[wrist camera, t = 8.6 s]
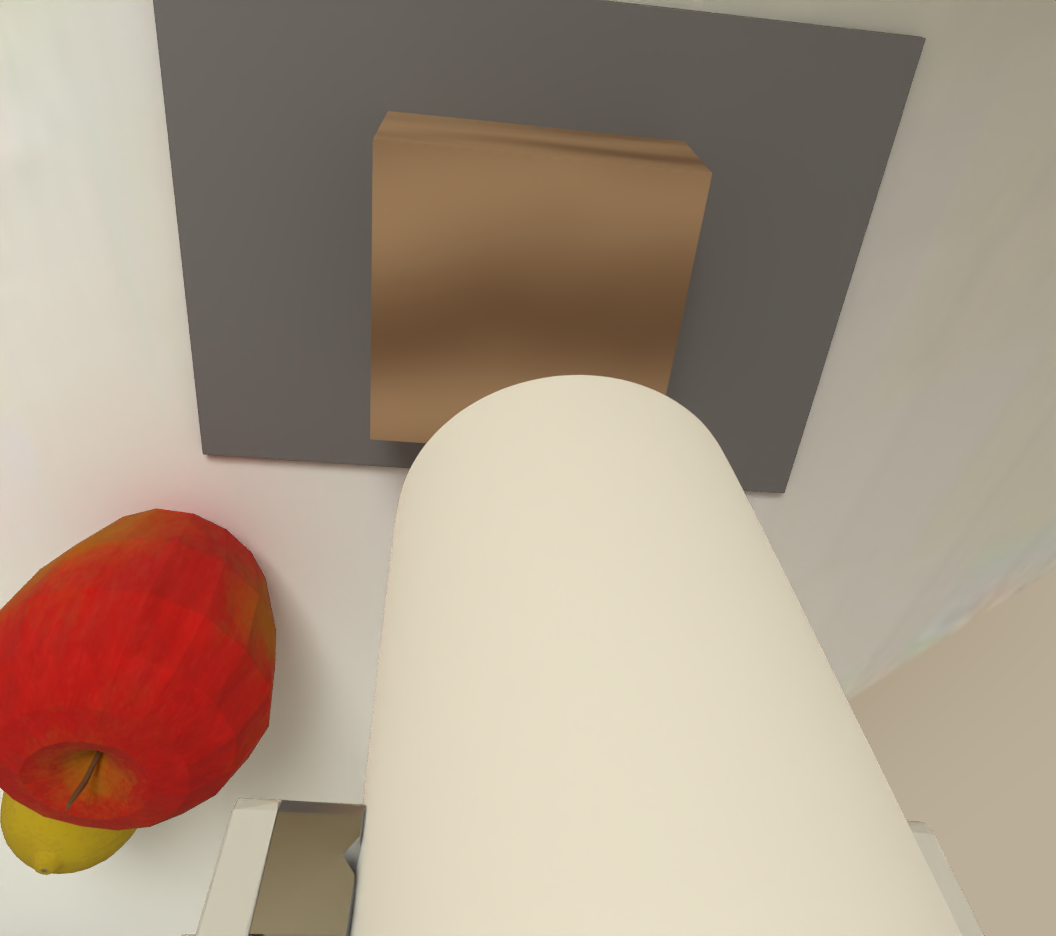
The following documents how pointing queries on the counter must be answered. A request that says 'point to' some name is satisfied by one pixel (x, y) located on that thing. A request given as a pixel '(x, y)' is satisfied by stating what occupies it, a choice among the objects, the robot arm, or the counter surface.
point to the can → (612, 698)
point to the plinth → (522, 261)
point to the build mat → (529, 99)
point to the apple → (135, 673)
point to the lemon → (56, 840)
